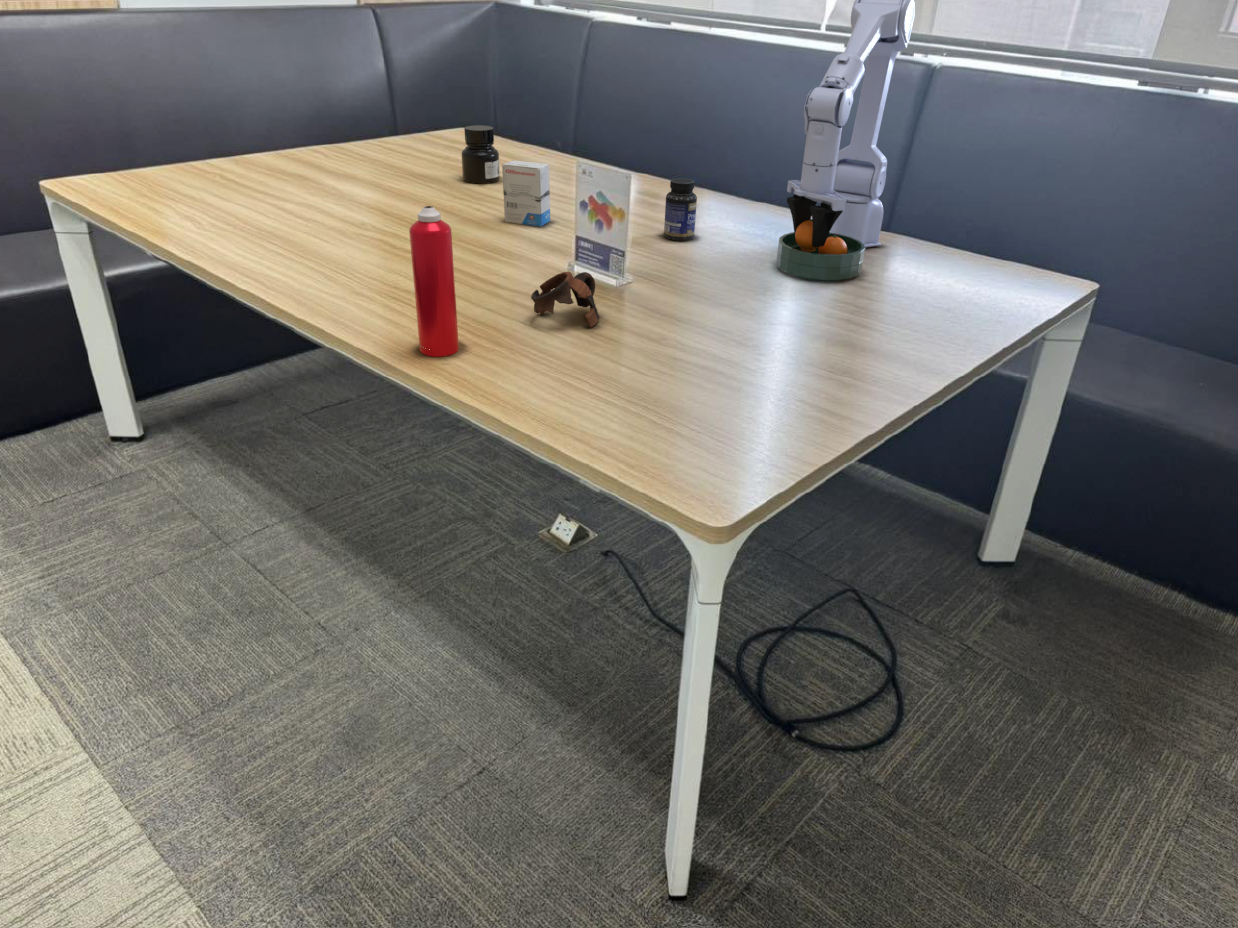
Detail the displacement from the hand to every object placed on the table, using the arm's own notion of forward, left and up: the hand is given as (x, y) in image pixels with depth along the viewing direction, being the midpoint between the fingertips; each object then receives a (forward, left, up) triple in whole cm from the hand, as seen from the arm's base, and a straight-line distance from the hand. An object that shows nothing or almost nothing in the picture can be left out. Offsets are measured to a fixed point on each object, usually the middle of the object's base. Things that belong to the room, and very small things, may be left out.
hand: (809, 241), depth 160 cm
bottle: (+71, +12, -6) cm, 72 cm away
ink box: (+37, -47, -6) cm, 60 cm away
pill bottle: (+12, -27, -6) cm, 30 cm away
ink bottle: (+35, -86, -6) cm, 93 cm away
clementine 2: (-6, 0, -5) cm, 7 cm away
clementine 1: (0, 0, -1) cm, 1 cm away
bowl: (-3, 0, -5) cm, 6 cm away
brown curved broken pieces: (+49, +7, -6) cm, 50 cm away
